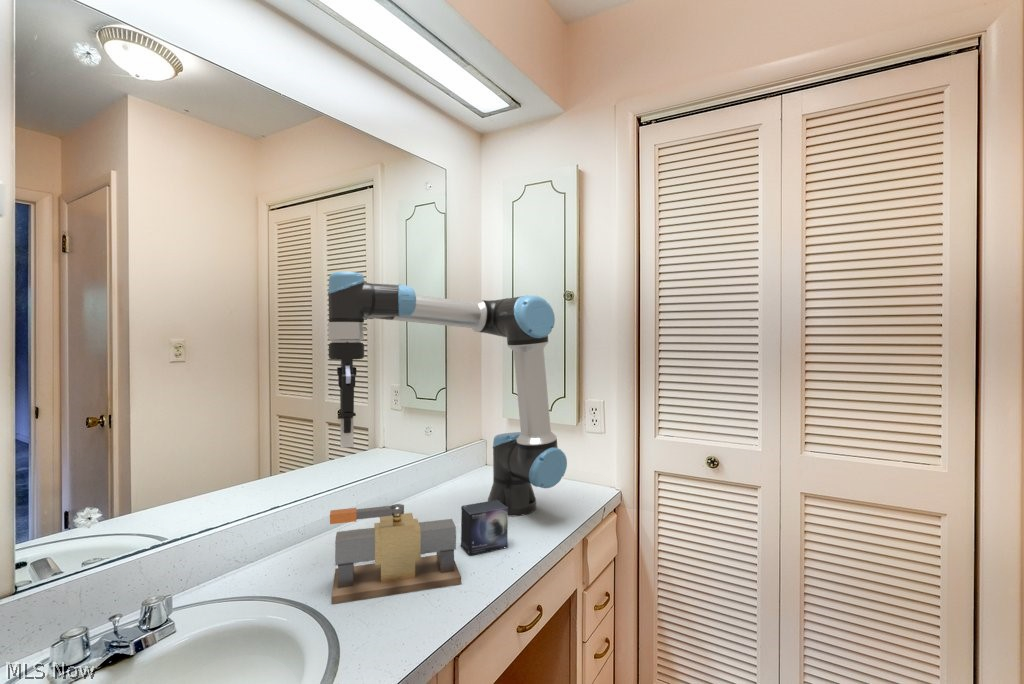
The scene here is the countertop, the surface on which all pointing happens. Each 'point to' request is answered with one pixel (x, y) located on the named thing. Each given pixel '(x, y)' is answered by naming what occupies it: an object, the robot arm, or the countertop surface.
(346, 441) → the robot arm
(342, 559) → the valve
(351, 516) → the valve lever
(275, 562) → the countertop surface
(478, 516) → the small box
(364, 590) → the base board
